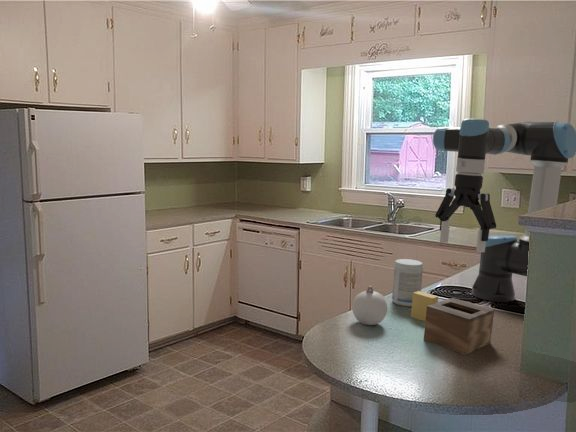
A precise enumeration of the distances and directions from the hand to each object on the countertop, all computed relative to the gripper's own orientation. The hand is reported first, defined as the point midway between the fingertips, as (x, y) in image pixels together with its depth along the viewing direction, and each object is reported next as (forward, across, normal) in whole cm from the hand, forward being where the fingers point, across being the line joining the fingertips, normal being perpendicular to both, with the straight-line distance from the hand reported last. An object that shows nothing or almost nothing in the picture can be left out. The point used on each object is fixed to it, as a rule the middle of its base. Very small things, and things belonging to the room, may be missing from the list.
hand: (461, 247), depth 156 cm
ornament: (+26, -16, -19) cm, 36 cm away
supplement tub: (+26, -28, +7) cm, 39 cm away
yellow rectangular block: (+26, -13, +1) cm, 29 cm away
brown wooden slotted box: (+26, +6, -4) cm, 27 cm away
